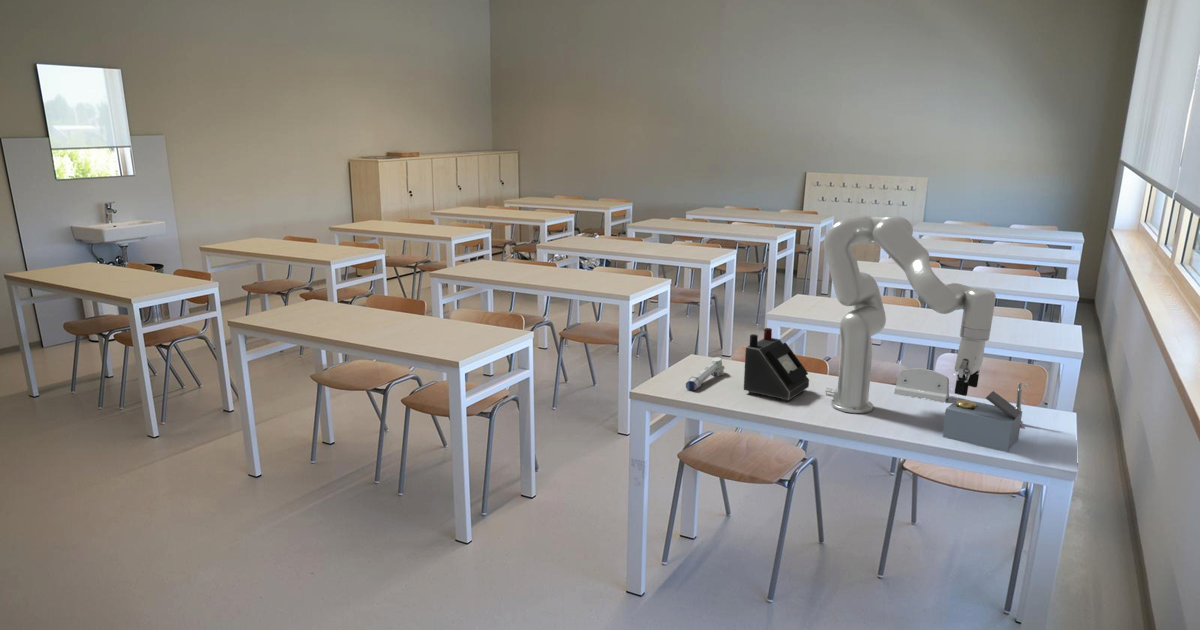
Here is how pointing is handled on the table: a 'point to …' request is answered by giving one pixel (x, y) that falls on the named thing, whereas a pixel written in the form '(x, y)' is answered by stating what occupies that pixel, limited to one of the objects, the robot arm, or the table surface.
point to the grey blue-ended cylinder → (706, 374)
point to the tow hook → (1019, 398)
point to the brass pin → (966, 404)
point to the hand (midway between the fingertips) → (965, 390)
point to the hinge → (923, 384)
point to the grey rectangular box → (982, 426)
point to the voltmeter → (773, 368)
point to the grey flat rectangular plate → (1003, 405)
